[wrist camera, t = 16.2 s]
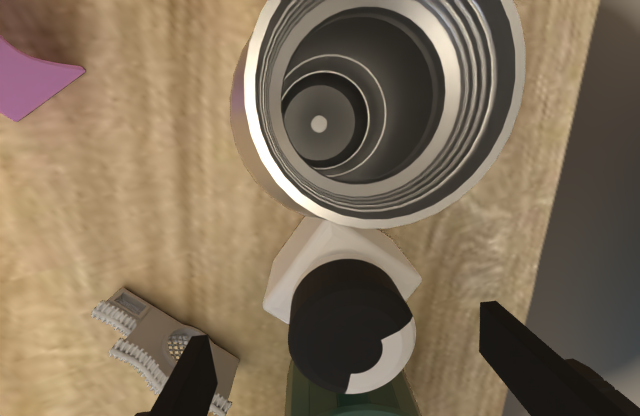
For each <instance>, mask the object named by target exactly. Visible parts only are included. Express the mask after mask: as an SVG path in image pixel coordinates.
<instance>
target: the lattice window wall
mask: <svg viewBox="0 0 640 416" xmlns="http://www.w3.org/2000/svg"><path fill="white" fill-rule="evenodd" d="M91 315H92V316H91V318H94V317H96V318H97V319H96V320H99V319H101V320H102V321H101V322H102V323H103V322H106V324H107V325H108V324H111V327H115V329H114V330H115V331H116V330H117V329H119V330H120V331H119V333H121V332H123V336H125V335H126V336H127V338H126V339H125V340H124V339H123V338H120V339H119V340H118V341H117V342H116V344H115V345H114V346H113V347H112V349H111V350H110V351H109V352H108V353H109V357H111V356H112V355H114V356H115V357H114V358H115V359H116V358H120V361H122V360H125V361H124V362H125V363H127V362H129V363H130V364H129V365H130V366H131V365H133V366H134V367H133V369H136V368H137V369H138V371H137V373H140V372H141V377H143V376H145V381H148V384H147V387H149V386H150V385H151V389H150V391H152V390H154V391H155V393H154V394H155V395H156V394H157V393H158V394H159V395H160V393H161V391H162V389H163V387H164V386H165V384H166V382H167V380H168V378H169V377H170V375H171V373H172V371H173V369H174V367H175V366H176V364H177V361H178V360H179V359H176V356H179V358H180V357H181V355H182V354H181V352H180V351H184V349H185V346H187V344H188V342H189V340H190V338H191V337H192V336H198V335H206V334H205V333H203V332H202V331H201V330H199V329H197V328H195V327H192V326H187V325H183V324H181V323H180V322H178V321H177V320H175V319H173V318H172V317H170V316H168V315H167V314H165V313H164V312H162V311H160V310H159V309H157V308H156V307H153V306H152V305H151V304H149V303H147V302H146V301H144V300H142V299H141V298H139V297H138V296H136V295H134V294H133V293H131V292H130V291H128V290H126V289H125V288H123V287H122V288H121V289H120V290H119V291H117V292H116V293H115V294H114V295H113V296H112V297H110V298H109V299H108V300H107V301H106V302H105V301H104V300H102V301H101V302H100V303H99V304H98V305H97V307H95V308H94V309H93V310H92V314H91ZM170 342H171V343H172V344H168V343H170ZM173 342H177V344H174V343H173ZM209 342H210V347H211V352H212V356H213V361H214V366H215V371H216V376H217V381H218V385H217V388H216V391H215V394H214V397H213V399H212V402H211V405H210V408H209V409H210V410H209V412H212V411H213V412H214V413H213V415H216V414H217V415H218V416H225V415H226V413H227V411H228V409H229V408H230V406H231V405H232V402H230V401H228V398H229V394H230V391H231V387H232V384H233V380H234V377H235V373H236V370H237V367H238V363H239V359H238V358H236V357H235V356H233V355H231V354H230V353H228V352H227V351H225V350H223V349H222V348H220V347H219V346H217V345H215V344H214V343H212V341H211V340H210V339H209ZM179 343H182V344H179ZM168 346H172V349H169V348H168ZM174 346H177V347H178V349H174ZM179 346H183V349H180V347H179ZM169 351H173V354H170V352H169ZM175 351H178V352H179V354H175ZM172 356H174V358H173V357H172Z"/></svg>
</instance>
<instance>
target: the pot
mask: <svg viewBox="0 0 640 416" xmlns="http://www.w3.org/2000/svg"><path fill="white" fill-rule="evenodd" d="M353 404H379V405H385V406H390V407H394V408H397V409H400V410H402V411H405V412H407V413H409V414H411V415H413V416H422V415H421V413H420V410H419V408H418V405H417V403H416V400H415V398H414V395H413V393H412V390H411V388H410V386H409V383H408V381H407V378H406V376H405V373H404V371H403V369H402V370H401V371H400V372H399V373H398V375H397V376H396V377H394V378H393V379H392V380H391V381H389V382H388V383H386V384H385V385H383V386H381V387H379V388H377V389H374V390H371V391H368V392H364V393H357V394H342V393H336V392H332V391H329V390H326V389H324V388H321V387H319V386H317V385H316V384H314V383H312V382H311V381H309V380H308V379H307V378H306V377H305V376H304V375H303V374H302V373H301V372H300V371H299V370H298V368H297V367H296V366H295V364H294V362H293V360H291V363H290V367H289V372H288V376H287V390H286V404H285V416H318V415H319V414H321V413H324V412H326V411H329V410H331V409H335V408H338V407H342V406H347V405H353Z"/></svg>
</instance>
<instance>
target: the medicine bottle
mask: <svg viewBox="0 0 640 416" xmlns="http://www.w3.org/2000/svg"><path fill="white" fill-rule="evenodd" d="M421 281H422V278H421V276H420V274H419V273H418V272H417V271H416V269H415V268H414V267H413V265H412V264H411V263H410V262H409V260H408V259H407V258H406V257H405V255H404V254H403V253H402V252H401V250H400V249H399V248H398V246H397V245H396V244H395V243H394V241H393V240H392V239H391V238H389V237H388V236H386V235H385V234H384V233H382V232H381V231H379V230H378V229H361V228H356V227H350V226H345V225H340V224H337V223H334V222H332V221H329V220H324V219H319V218H313V217H308V216H305V217H304V218H303V220H302V221H301V222H300V224H299V225H298V227H297V228H296V229H295V231H294V232H293V234H292V235H291V236H290V238H289V239H288V241H287V242H286V243H285V245H284V246H283V248H282V249H281V250H280V252H279V253H278V255H277V256H276V257H275V259H274V260H273V264H272V268H271V272H270V276H269V280H268V284H267V288H266V292H265V296H264V300H263V304H262V305H263V309H264V310H265V311H266V312H268V313H270V314H272V315H273V316H275V317H277V318H278V319H280V320H282V321H283V322H285V323H287V324H289V333H288V345H289V351H290V354H291V357H292V360H293V362H294V364H295V366H296V367H297V368H298V370H299V371H300V372H301V373H302V374H303V375H304V376H305V377H306V378H307V379H308V380H309V381H311V382H312V383H314V384H316V385H317V386H319V387H321V388H324V389H326V390H329V391H332V392H336V393H342V394H357V393H364V392H368V391H371V390H374V389H377V388H379V387H381V386H383V385H385V384H386V383H388V382H389V381H391V380H392V379H393V378H394V377H396V376H397V375H398V373H399V372H400V371H401V370H402V369H403V368H404V366H405V365H406V363H407V362H408V361H409V359H410V357H411V355H412V352H413V349H414V346H415V341H416V326H415V321H414V318H413V315H412V313H411V311H410V309H409V307H408V305H407V304H406V302H405V301H406V300H407V299H408V298H409V297H410V295H411V294H412V293H413V292H414V291H415V289H416V288H417V287H418V286H419V285H420V283H421Z"/></svg>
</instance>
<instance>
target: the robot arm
mask: <svg viewBox="0 0 640 416" xmlns="http://www.w3.org/2000/svg"><path fill="white" fill-rule="evenodd" d="M479 352H480V353H481V355H482V356H483V357H484V358H485V360H486V361H487V362H488V363H489V364H490V366H491V367H492V368H493V369H494V371H495V372H496V373H497V374H498V376H499V377H500V378H501V379H502V381H503V382H504V383H505V384H506V385H507V387H508V388H509V389H510V390H511V392H512V393H513V394H514V395H515V396H516V398H517V399H518V400H519V401H520V403H521V404H522V405H523V406H524V408H525V409H526V410H527V411H528V413H529V414H530V415H531V416H640V408H639V407H638V406H636V405H635V404H634V403H633V402H631V401H630V400H629V399H628V398H627V397H625V396H624V395H623V394H622V393H620V392H619V391H618V390H615V388H614V387H613V386H612V385H611V384H609V383H608V382H607V381H604V380H603V378H602V377H601V376H600V375H598V374H597V373H596V372H595V371H593V370H592V369H591V368H590V367H588V366H586V365H584V364H582V363H580V362H578V361H577V360H574V359H566V360H564V359H562V358H561V357H560V356H559V355H558V354H556V352H554V351H553V350H552V349H551V348H550V347H549V346H547V345H546V344H545V343H544V342H543V341H542V340H541V339H539V338H538V337H537V336H536V335H535V334H534V333H532V332H531V331H530V330H529V329H528V328H527V327H526V326H524V325H523V324H522V323H521V322H520V321H519V320H517V319H516V318H515V317H514V316H513V315H512V314H511V313H509V312H508V311H507V310H506V309H505V308H504V307H502V306H501V305H500V304H499V303H498V302H497V301H489V302H481V303H480V340H479ZM217 385H218V381H217V376H216V371H215V366H214V361H213V356H212V352H211V347H210V342H209V337H208V334H207V335H198V336H192V337H191V338H190V340H189V342H188V344H187V346H186V348H185V349H184V351H183V353H182V355H181V357H180V358H179V360H178V362H177V364H176V366H175V367H174V369H173V371H172V373H171V375H170V377H169V378H168V380H167V382H166V384H165V386H164V387H163V389H162V391H161V393H160V395H159V397H158V398H157V400H156V402H155V404H154V406H153V407H152V409H151V411H149V412H141V413H137V414H136V415H135V416H207V414H208V411H209V408H210V405H211V402H212V399H213V397H214V394H215V391H216V388H217Z"/></svg>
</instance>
